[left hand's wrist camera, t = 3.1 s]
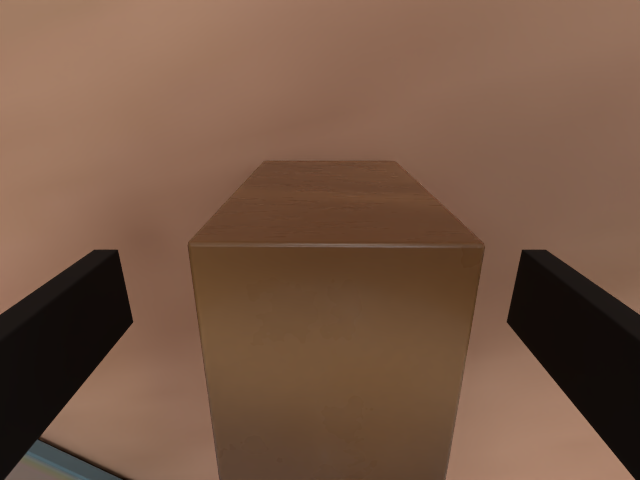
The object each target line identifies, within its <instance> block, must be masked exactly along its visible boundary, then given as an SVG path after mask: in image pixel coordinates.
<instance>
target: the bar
mask: <svg viewBox="0 0 640 480" xmlns="http://www.w3.org/2000/svg"><path fill="white" fill-rule="evenodd" d="M484 249H485V246H484V243H483V242H482V241H481V240H480V239H479V238H478V237H477V236H475V235H474V234H473V233H472V232H471V231H470V230H469V229H468V228H467V227H466V226H465V225H464V224H463V223H461V222H460V221H459V220H458V219H457V218H456V217H455V216H454V215H453V214H452V213H451V212H450V211H449V210H447V209H446V208H445V207H444V206H443V205H442V204H441V203H440V202H439V201H438V200H437V199H436V198H435V197H433V196H432V195H431V194H430V193H429V192H428V191H427V190H426V189H425V188H424V187H423V186H422V185H420V184H419V183H418V182H417V181H416V180H415V179H414V178H413V177H412V176H411V175H410V174H409V173H408V172H406V171H405V170H404V169H403V168H402V167H401V166H400V165H399V164H398V163H397V162H395V161H264V162H263V163H262V164H261V165H260V166H259V167H258V168H257V169H256V170H255V172H254V173H253V174H252V175H251V176H250V177H249V178H248V179H247V180H246V181H245V182H244V183H243V184H242V185H241V187H240V188H239V189H238V190H237V191H236V192H235V193H234V194H233V195H232V196H231V197H230V198H229V199H228V200H227V202H226V203H225V204H224V205H223V206H222V207H221V208H220V209H219V210H218V211H217V212H216V213H215V214H214V215H213V216H212V218H211V219H210V220H209V221H208V222H207V223H206V224H205V225H204V226H203V227H202V228H201V229H200V230H199V231H198V233H197V234H196V235H195V236H194V237H193V238H192V239H191V240H190V241H189V243H188V251H189V258H190V266H191V273H192V280H193V288H194V295H195V302H196V310H197V317H198V325H199V332H200V339H201V347H202V354H203V361H204V369H205V376H206V384H207V391H208V398H209V406H210V413H211V420H212V428H213V435H214V443H215V450H216V457H217V465H218V472H219V479H220V480H445V479H446V473H447V468H448V462H449V456H450V450H451V444H452V438H453V432H454V426H455V420H456V414H457V409H458V403H459V397H460V391H461V385H462V379H463V373H464V367H465V361H466V355H467V349H468V344H469V338H470V332H471V326H472V320H473V314H474V308H475V302H476V296H477V290H478V285H479V279H480V273H481V267H482V261H483V255H484Z"/></svg>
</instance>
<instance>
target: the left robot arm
mask: <svg viewBox="0 0 640 480" xmlns="http://www.w3.org/2000/svg"><path fill="white" fill-rule="evenodd" d="M132 323H133V319H132V314H131V309H130V305H129V300H128V295H127V290H126V286H125V281H124V276H123V272H122V267H121V262H120V257H119V253H118V250H93V251H92V252H90V253H89V254H87V255H86V256H85V257H83V258H82V259H80V260H79V261H77V262H76V263H74V264H73V265H72V266H70V267H69V268H67V269H66V270H64V271H63V272H61V273H60V274H59V275H57V276H56V277H54V278H53V279H51V280H50V281H48V282H47V283H46V284H44V285H43V286H41V287H40V288H38V289H37V290H35V291H34V292H33V293H31V294H30V295H28V296H27V297H25V298H24V299H22V300H21V301H20V302H18V303H17V304H15V305H14V306H12V307H11V308H9V309H8V310H7V311H5V312H4V313H2V314H1V315H0V480H5V478H6V477H7V476H8V475H9V474H10V472H11V471H12V470H13V469H14V467H15V466H16V465H17V464H18V463H19V461H20V460H21V459H22V458H23V456H24V455H25V454H26V453H27V452H28V450H29V449H30V448H31V447H32V445H33V444H34V443H35V442H36V441H37V439H38V438H39V437H40V436H41V434H42V433H43V432H44V431H45V430H46V428H47V427H48V426H49V425H50V423H51V422H52V421H53V420H54V418H55V417H56V416H57V415H58V414H59V412H60V411H61V410H62V409H63V407H64V406H65V405H66V404H67V403H68V401H69V400H70V399H71V398H72V396H73V395H74V394H75V393H76V392H77V390H78V389H79V388H80V387H81V385H82V384H83V383H84V382H85V381H86V379H87V378H88V377H89V376H90V374H91V373H92V372H93V371H94V370H95V368H96V367H97V366H98V365H99V363H100V362H101V361H102V360H103V358H104V357H105V356H106V355H107V354H108V352H109V351H110V350H111V349H112V347H113V346H114V345H115V344H116V343H117V341H118V340H119V339H120V338H121V336H122V335H123V334H124V333H125V332H126V330H127V329H128V328H129V327H130V325H131V324H132ZM507 323H508V324H509V325H510V327H511V328H512V329H513V330H514V332H515V333H516V334H517V335H518V336H519V338H520V339H521V340H522V341H523V343H524V344H525V345H526V346H527V347H528V349H529V350H530V351H531V352H532V354H533V355H534V356H535V357H536V358H537V360H538V361H539V362H540V363H541V365H542V366H543V367H544V368H545V370H546V371H547V372H548V373H549V374H550V376H551V377H552V378H553V379H554V381H555V382H556V383H557V384H558V385H559V387H560V388H561V389H562V390H563V392H564V393H565V394H566V395H567V396H568V398H569V399H570V400H571V401H572V403H573V404H574V405H575V406H576V407H577V409H578V410H579V411H580V412H581V414H582V415H583V416H584V417H585V418H586V420H587V421H588V422H589V423H590V425H591V426H592V427H593V428H594V430H595V431H596V432H597V433H598V434H599V436H600V437H601V438H602V439H603V441H604V442H605V443H606V444H607V445H608V447H609V448H610V449H611V450H612V452H613V453H614V454H615V455H616V456H617V458H618V459H619V460H620V461H621V463H622V464H623V465H624V466H625V467H626V469H627V470H628V471H629V472H630V474H631V475H632V476H633V477H634V478H635V480H640V315H639V314H638V313H636V312H635V311H633V310H632V309H631V308H629V307H628V306H626V305H625V304H623V303H622V302H620V301H619V300H618V299H616V298H615V297H613V296H612V295H610V294H609V293H607V292H606V291H605V290H603V289H602V288H600V287H599V286H597V285H596V284H594V283H593V282H592V281H590V280H589V279H587V278H586V277H584V276H583V275H581V274H580V273H579V272H577V271H576V270H574V269H573V268H571V267H570V266H568V265H567V264H566V263H564V262H563V261H561V260H560V259H558V258H557V257H555V256H554V255H553V254H551V253H550V252H548V251H547V250H522V253H521V257H520V262H519V267H518V272H517V276H516V281H515V286H514V290H513V295H512V300H511V305H510V309H509V314H508V319H507Z"/></svg>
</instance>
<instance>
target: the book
mask: <svg viewBox="0 0 640 480" xmlns="http://www.w3.org/2000/svg"><path fill="white" fill-rule="evenodd" d="M5 480H122V479H120V478H118V477H116V476H114V475H111V474H109V473H107V472H105V471H103V470H101V469H99V468H97V467H94V466H92V465H90V464H88V463H86V462H84V461H82V460H80V459H77V458H75V457H73V456H71V455H69V454H67V453H65V452H63V451H60V450H58V449H56V448H54V447H52V446H50V445H48V444H46V443H43V442H41V441H39V440H37V441H36V442H35V443H34V444H33V445H32V447H31V448H30V449H29V450H28V452H27V453H26V454H25V455H24V456H23V458H22V459H21V460H20V461H19V463H18V464H17V465H16V466H15V467H14V469H13V470H12V471H11V472H10V474H9V475H8V476H7V477H6V478H5Z"/></svg>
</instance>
